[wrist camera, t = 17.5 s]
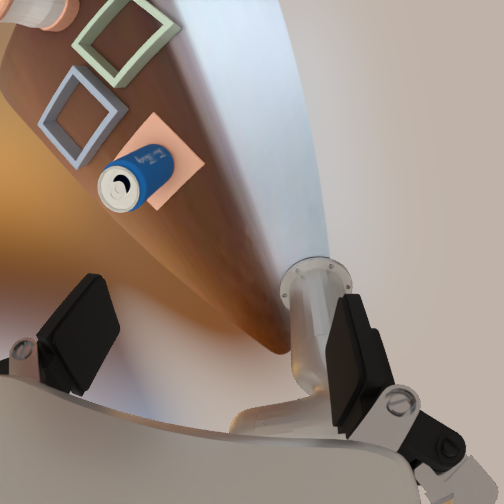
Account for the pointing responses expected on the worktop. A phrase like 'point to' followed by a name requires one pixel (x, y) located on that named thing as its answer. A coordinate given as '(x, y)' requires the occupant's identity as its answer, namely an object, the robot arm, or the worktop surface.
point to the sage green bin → (141, 56)
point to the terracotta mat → (182, 154)
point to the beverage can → (135, 177)
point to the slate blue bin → (59, 100)
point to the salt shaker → (40, 13)
